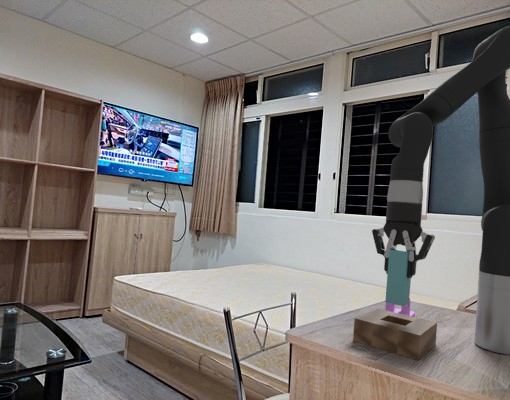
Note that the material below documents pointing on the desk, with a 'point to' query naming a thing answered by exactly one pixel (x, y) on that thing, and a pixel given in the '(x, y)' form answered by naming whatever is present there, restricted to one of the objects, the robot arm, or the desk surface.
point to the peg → (398, 278)
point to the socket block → (395, 333)
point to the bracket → (400, 309)
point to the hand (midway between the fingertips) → (399, 275)
